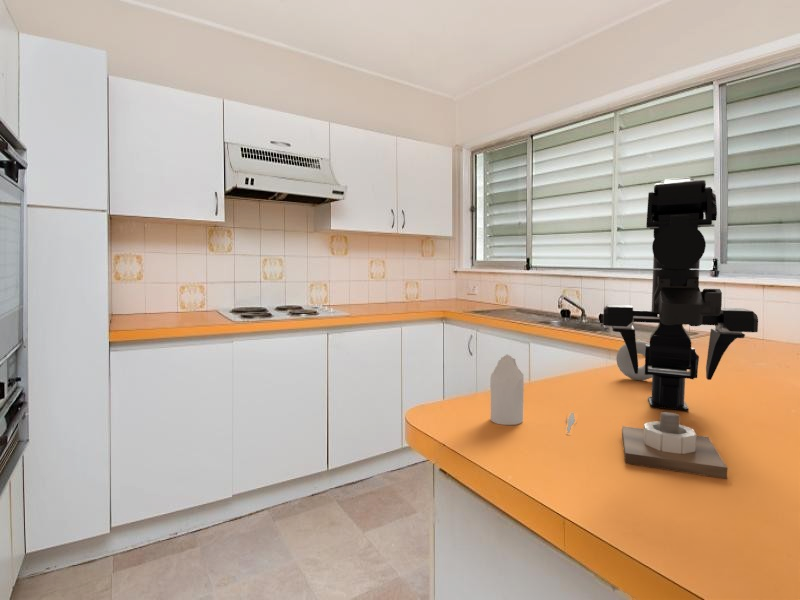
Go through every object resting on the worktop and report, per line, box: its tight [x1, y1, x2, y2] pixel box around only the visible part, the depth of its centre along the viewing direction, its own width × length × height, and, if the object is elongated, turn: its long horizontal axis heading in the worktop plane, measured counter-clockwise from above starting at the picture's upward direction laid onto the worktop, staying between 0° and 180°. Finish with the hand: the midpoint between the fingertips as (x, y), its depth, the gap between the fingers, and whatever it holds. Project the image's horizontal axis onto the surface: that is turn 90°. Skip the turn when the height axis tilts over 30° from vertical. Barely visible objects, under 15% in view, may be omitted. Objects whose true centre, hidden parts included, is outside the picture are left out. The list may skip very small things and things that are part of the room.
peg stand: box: [621, 411, 728, 480], centre depth 68 cm, size 12×12×6 cm
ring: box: [643, 420, 697, 454], centre depth 68 cm, size 6×6×2 cm
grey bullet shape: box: [489, 354, 525, 426], centre depth 83 cm, size 6×12×6 cm
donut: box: [615, 339, 652, 381], centre depth 113 cm, size 10×3×10 cm, turn 57°
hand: (671, 376), depth 67 cm, fingers open, 9 cm apart
